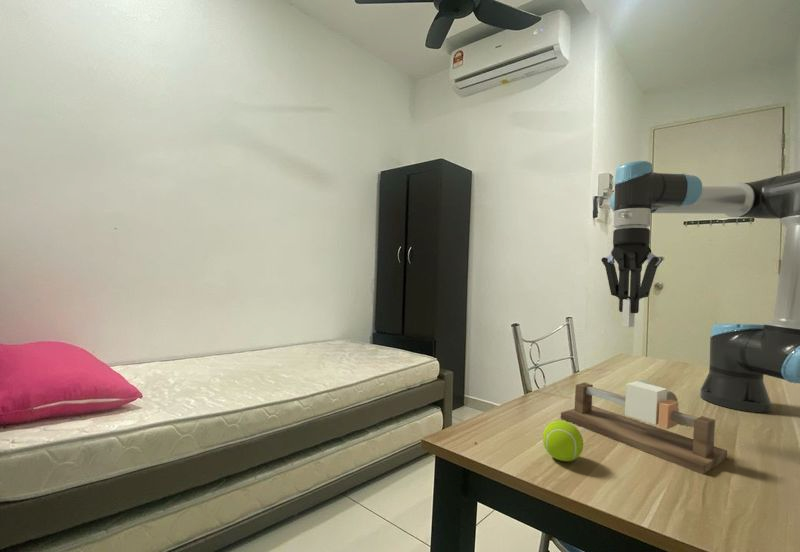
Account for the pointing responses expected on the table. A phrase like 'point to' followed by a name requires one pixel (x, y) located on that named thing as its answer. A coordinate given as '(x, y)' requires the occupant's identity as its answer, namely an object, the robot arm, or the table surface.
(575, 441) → the tennis ball
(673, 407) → the band
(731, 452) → the table surface
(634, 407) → the sleeve
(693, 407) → the table surface
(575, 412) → the rail stand
